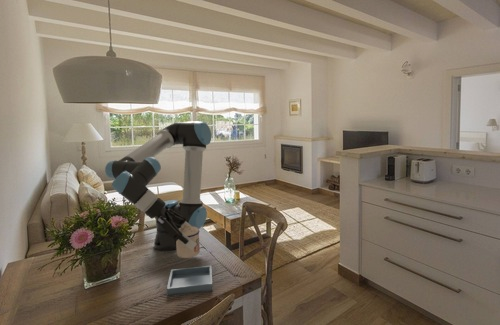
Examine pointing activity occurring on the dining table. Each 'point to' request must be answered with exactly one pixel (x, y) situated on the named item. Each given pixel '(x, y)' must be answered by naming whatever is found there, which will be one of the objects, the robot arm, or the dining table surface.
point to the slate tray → (190, 280)
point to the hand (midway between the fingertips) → (194, 240)
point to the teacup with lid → (194, 236)
